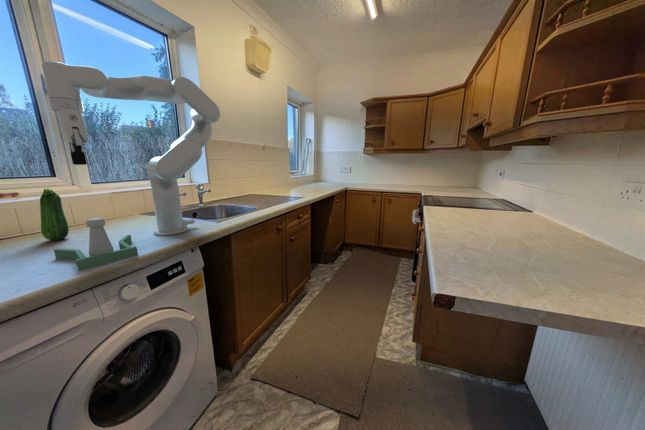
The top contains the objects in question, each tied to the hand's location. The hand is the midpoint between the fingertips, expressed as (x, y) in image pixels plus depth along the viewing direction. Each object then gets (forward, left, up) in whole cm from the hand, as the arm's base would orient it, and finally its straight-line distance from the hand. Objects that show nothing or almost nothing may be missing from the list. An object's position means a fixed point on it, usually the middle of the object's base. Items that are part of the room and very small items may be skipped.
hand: (80, 164), depth 83 cm
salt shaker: (+2, +18, -29) cm, 34 cm away
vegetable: (+8, -19, -29) cm, 36 cm away
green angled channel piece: (+1, +15, -29) cm, 32 cm away
